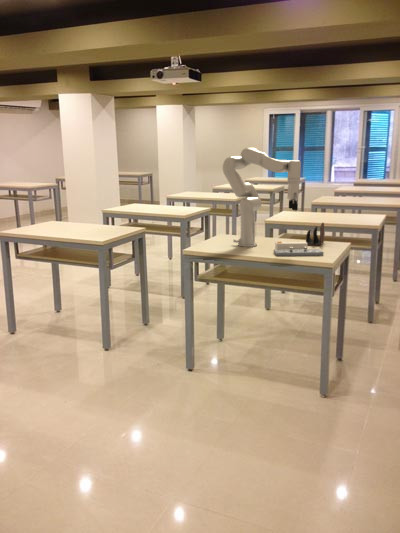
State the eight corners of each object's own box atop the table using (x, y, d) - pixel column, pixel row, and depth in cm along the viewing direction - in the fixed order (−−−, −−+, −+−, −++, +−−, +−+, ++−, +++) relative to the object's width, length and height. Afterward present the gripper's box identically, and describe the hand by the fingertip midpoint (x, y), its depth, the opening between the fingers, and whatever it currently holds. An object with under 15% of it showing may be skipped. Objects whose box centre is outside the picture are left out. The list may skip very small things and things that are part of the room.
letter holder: (323, 241, 338) (324, 221, 334) (320, 246, 319) (322, 225, 316) (308, 240, 341) (309, 220, 337) (305, 245, 322) (306, 224, 319)
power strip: (276, 251, 304) (277, 242, 302) (275, 249, 310) (275, 241, 308) (307, 251, 304) (307, 242, 303) (304, 249, 310) (305, 240, 309)
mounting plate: (276, 256, 291) (277, 249, 290) (273, 252, 301) (274, 245, 300) (323, 255, 292) (323, 248, 291) (318, 252, 302) (319, 245, 301)
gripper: (284, 180, 305) (284, 207, 309) (290, 181, 288) (289, 210, 292) (296, 180, 305) (295, 207, 309) (303, 181, 289) (302, 210, 292)
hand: (293, 209), depth 301 cm, fingers open, 9 cm apart
